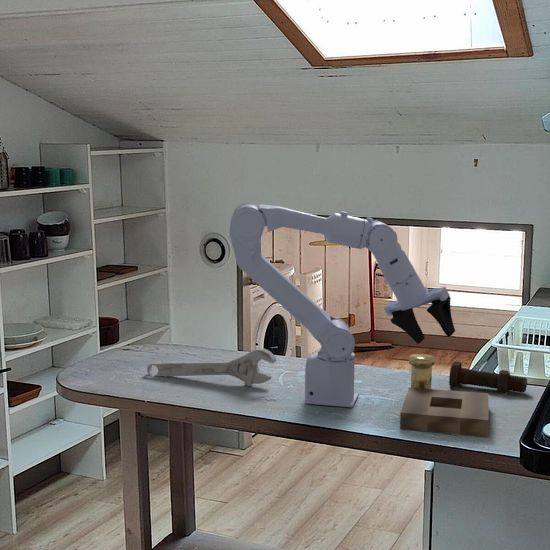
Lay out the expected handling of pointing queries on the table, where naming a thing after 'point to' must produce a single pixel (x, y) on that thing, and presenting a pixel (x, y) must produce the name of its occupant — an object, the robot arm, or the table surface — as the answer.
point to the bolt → (486, 379)
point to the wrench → (220, 367)
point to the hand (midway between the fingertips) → (436, 337)
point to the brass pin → (421, 370)
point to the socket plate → (445, 411)
